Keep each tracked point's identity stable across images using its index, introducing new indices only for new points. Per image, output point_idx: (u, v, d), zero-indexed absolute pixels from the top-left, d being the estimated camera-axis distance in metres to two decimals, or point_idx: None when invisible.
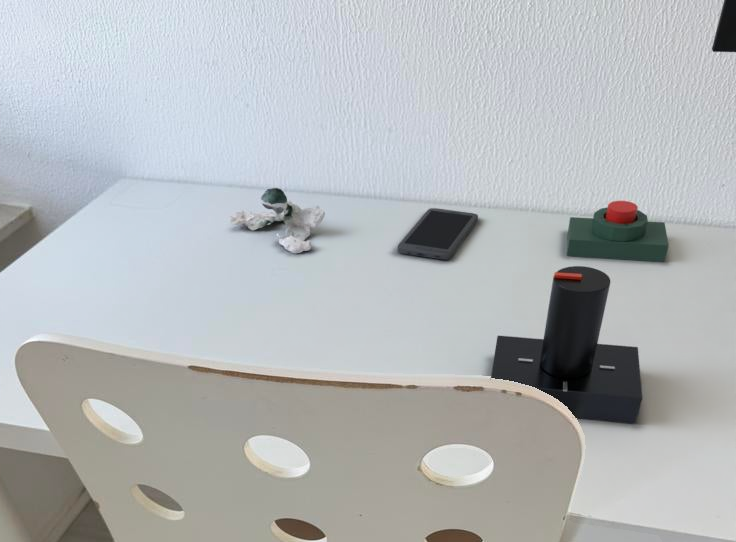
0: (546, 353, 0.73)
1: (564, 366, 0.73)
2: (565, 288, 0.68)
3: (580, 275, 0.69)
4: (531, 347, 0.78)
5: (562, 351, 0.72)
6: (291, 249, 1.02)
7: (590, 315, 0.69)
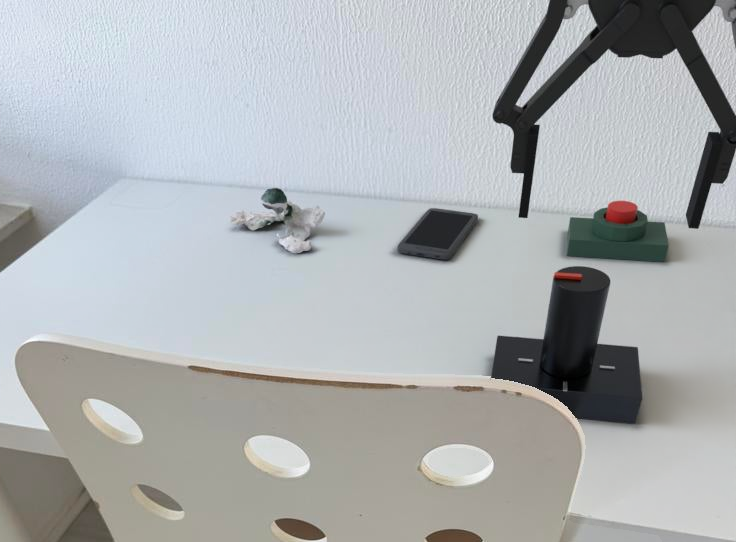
0: (546, 353, 0.73)
1: (564, 366, 0.73)
2: (565, 288, 0.68)
3: (580, 275, 0.69)
4: (531, 347, 0.78)
5: (562, 351, 0.72)
6: (291, 249, 1.02)
7: (590, 315, 0.69)
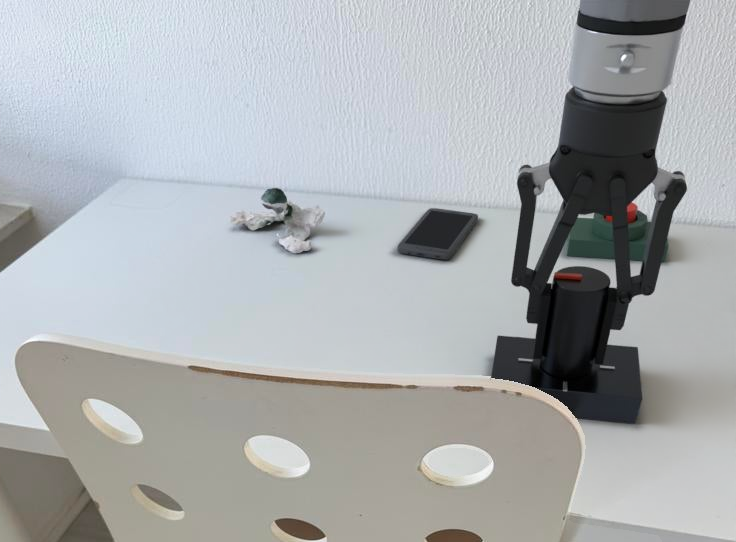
0: (546, 353, 0.73)
1: (564, 366, 0.73)
2: (565, 288, 0.68)
3: (580, 275, 0.69)
4: (531, 347, 0.78)
5: (562, 351, 0.72)
6: (291, 249, 1.02)
7: (590, 315, 0.69)
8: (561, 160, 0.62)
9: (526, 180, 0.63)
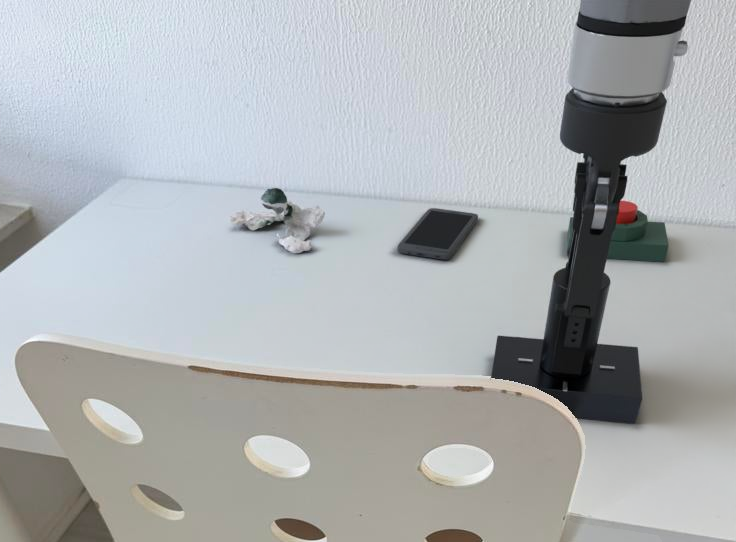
0: None
1: (594, 356, 0.74)
2: (606, 287, 0.68)
3: None
4: (531, 347, 0.78)
5: (596, 344, 0.72)
6: (291, 249, 1.02)
7: None
8: (618, 174, 0.59)
9: (617, 208, 0.58)
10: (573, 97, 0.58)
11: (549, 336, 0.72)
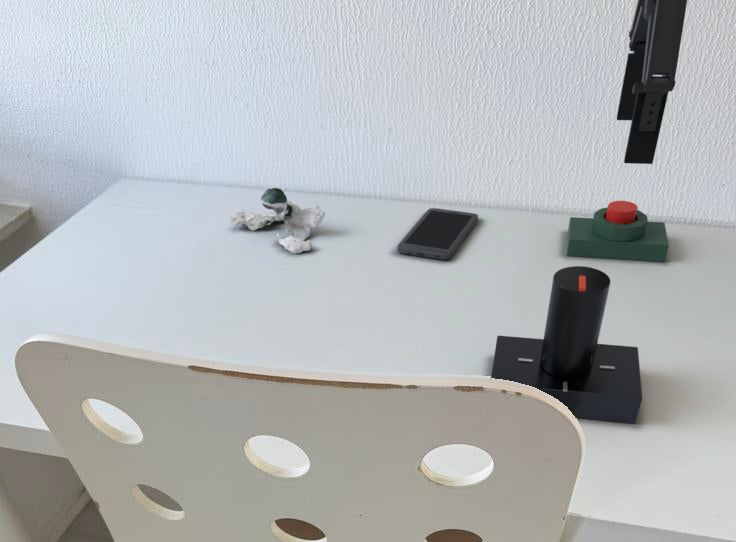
0: (583, 360, 0.72)
1: (594, 356, 0.74)
2: (606, 287, 0.68)
3: (583, 276, 0.69)
4: (531, 347, 0.78)
5: (596, 344, 0.72)
6: (291, 249, 1.02)
7: None
8: None
9: None
10: None
11: (549, 336, 0.72)
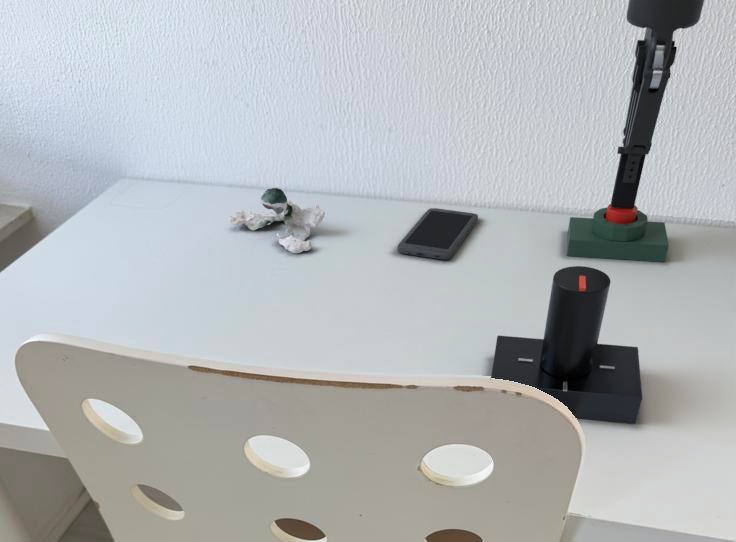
0: (583, 360, 0.72)
1: (594, 356, 0.74)
2: (606, 287, 0.68)
3: (583, 276, 0.69)
4: (531, 347, 0.78)
5: (596, 344, 0.72)
6: (291, 249, 1.02)
7: None
8: (671, 44, 0.81)
9: (669, 72, 0.81)
10: None
11: (549, 336, 0.72)
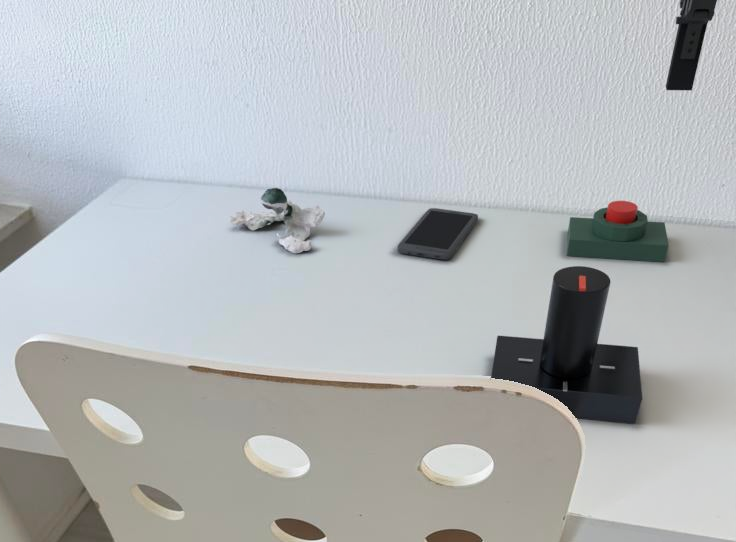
0: (583, 360, 0.72)
1: (594, 356, 0.74)
2: (606, 287, 0.68)
3: (583, 276, 0.69)
4: (531, 347, 0.78)
5: (596, 344, 0.72)
6: (291, 249, 1.02)
7: None
8: None
9: None
10: None
11: (549, 336, 0.72)
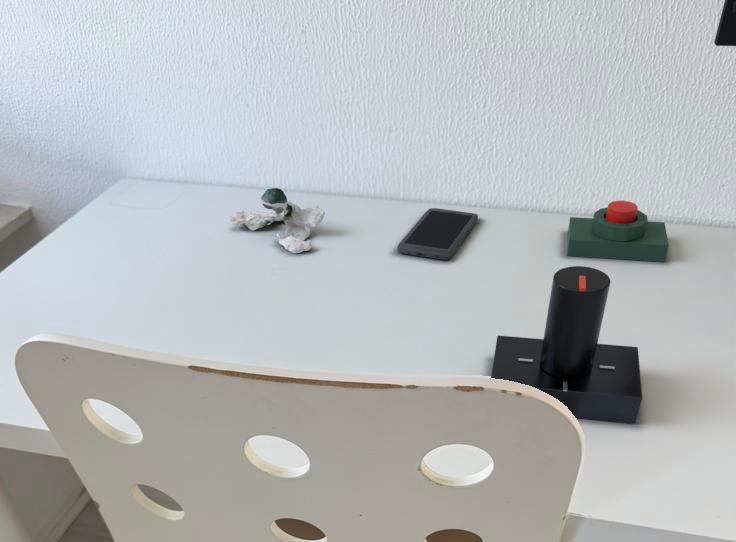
0: (583, 360, 0.72)
1: (594, 356, 0.74)
2: (606, 287, 0.68)
3: (583, 276, 0.69)
4: (531, 347, 0.78)
5: (596, 344, 0.72)
6: (291, 249, 1.02)
7: None
8: None
9: None
10: None
11: (549, 336, 0.72)
